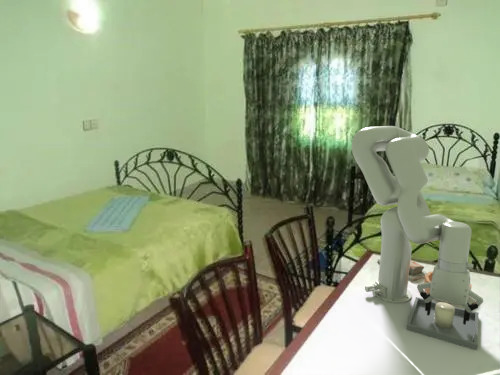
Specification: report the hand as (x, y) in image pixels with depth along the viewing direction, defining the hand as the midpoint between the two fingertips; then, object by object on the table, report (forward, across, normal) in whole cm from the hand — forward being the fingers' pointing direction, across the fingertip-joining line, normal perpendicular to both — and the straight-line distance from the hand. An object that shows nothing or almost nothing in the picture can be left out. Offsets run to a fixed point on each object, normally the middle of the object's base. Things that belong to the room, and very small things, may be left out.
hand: (446, 317), depth 115 cm
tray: (+3, +1, 0) cm, 3 cm away
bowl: (+3, +2, -22) cm, 22 cm away
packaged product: (+3, +18, -34) cm, 38 cm away
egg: (+2, +1, 0) cm, 2 cm away
